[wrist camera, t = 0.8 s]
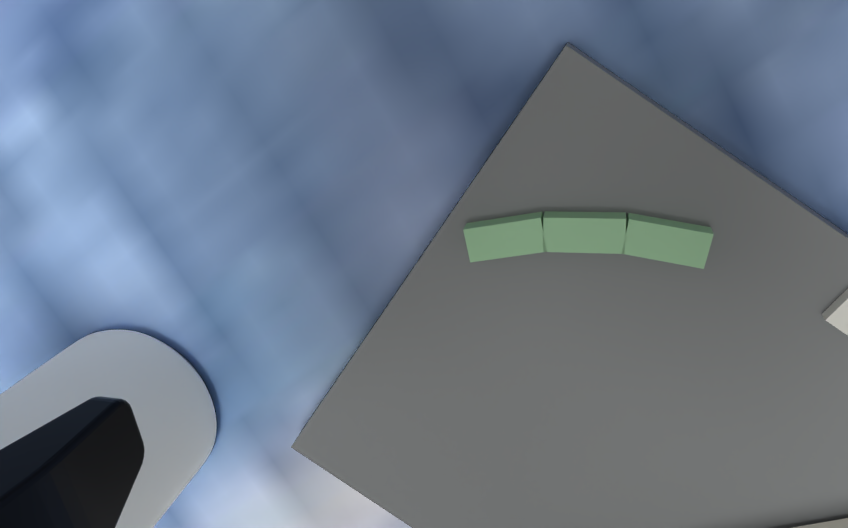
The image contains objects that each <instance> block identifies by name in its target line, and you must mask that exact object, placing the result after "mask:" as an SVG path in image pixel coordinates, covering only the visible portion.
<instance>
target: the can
mask: <svg viewBox="0 0 848 528" xmlns="http://www.w3.org/2000/svg"><path fill="white" fill-rule="evenodd" d="M98 396H102V397H111V398H119V399H123V400H126V401H127V402H128V403H129V404H130V406H131V408H132V410H133V413H134V416H135V419H136V422H137V425H138V428H139V431H140V434H141V437H142V440H143V443H144V459H143V463H142V466H141V468H140V471H139V473H138V475H137V478H136V480H135V482H134V485H133V487H132V489H131V492H130V494H129V497H128V499H127V501H126V504H125V506H124V508H123V511H122V513H121V515H120V518H119V520H118V522H117V525H116V527H115V528H153V527H154V526H155V525H156V523H157V522H158V521H159V520H160V518H161V517H162V516H163V515H164V513H165V512H166V511H167V510H168V508H169V507H170V506H171V505H172V503H173V502H174V501H175V500H176V498H177V497H178V496H179V495H180V493H181V492H182V491H183V490H184V488H185V487H186V486H187V484H188V483H189V482H190V481H191V479H192V478H193V477H194V475H195V474H196V473H197V472H198V470H199V469H200V468H201V466H202V465H203V464H204V462H205V461H206V459H207V458H208V456H209V455H210V453H211V451H212V448H213V446H214V443H215V438H216V431H217V422H216V414H215V409H214V405H213V402H212V399H211V396H210V394H209V392H208V389H207V387H206V385H205V383H204V381H203V380H202V378H201V377H200V375H199V374H198V372H197V371H196V370H195V368H194V367H193V366H192V365H191V364H190V363H189V362H188V361H187V360H186V359H185V358H184V357H183V356H182V355H181V354H180V353H178V352H177V351H176V350H174V349H173V348H171V347H170V346H168V345H167V344H165V343H163V342H161V341H160V340H158V339H156V338H153V337H151V336H148V335H146V334H143V333H140V332H136V331H130V330H105V331H100V332H95V333H92V334H89V335H87V336H85V337H83V338H81V339H80V340H78V341H76V342H75V343H73V344H72V345H70V346H69V347H67V348H66V349H64V350H63V351H62V352H60V353H59V354H57V355H56V356H54V357H53V358H51V359H50V360H49V361H47V362H46V363H44V364H43V365H41V366H40V367H39V368H37V369H36V370H34V371H33V372H31V373H30V374H29V375H27V376H26V377H24V378H23V379H22V380H20V381H19V382H17V383H16V384H14V385H13V386H12V387H10V388H9V389H7V390H6V391H5V392H3V393H2V394H0V450H1V449H2V448H4V447H6V446H8V445H9V444H11V443H13V442H15V441H16V440H18V439H20V438H22V437H23V436H25V435H27V434H29V433H31V432H32V431H34V430H36V429H38V428H39V427H41V426H43V425H45V424H46V423H48V422H50V421H52V420H53V419H55V418H57V417H59V416H60V415H62V414H64V413H66V412H67V411H69V410H71V409H73V408H75V407H76V406H78V405H80V404H82V403H83V402H85V401H87V400H89V399H91V398H93V397H98Z"/></svg>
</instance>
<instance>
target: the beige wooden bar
mask: <svg viewBox="0 0 848 528" xmlns="http://www.w3.org/2000/svg"><path fill="white" fill-rule="evenodd" d="M793 528H848V518H845V519H839V520H833V521H827V522H822V523H816V524H810V525H804V526H798V527H793Z"/></svg>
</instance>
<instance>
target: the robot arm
mask: <svg viewBox="0 0 848 528" xmlns="http://www.w3.org/2000/svg"><path fill="white" fill-rule="evenodd" d="M143 459H144V443H143V440H142V437H141V434H140V431H139V428H138V425H137V422H136V419H135V416H134V413H133V410H132V408H131V406H130V404H129V403H128V402H127V401H126V400H123V399H119V398H111V397H102V396H98V397H93V398H91V399H89V400H87V401H85V402H83V403H82V404H80V405H78V406H76V407H75V408H73V409H71V410H69V411H67V412H66V413H64V414H62V415H60V416H59V417H57V418H55V419H53V420H52V421H50V422H48V423H46V424H45V425H43V426H41V427H39V428H38V429H36V430H34V431H32V432H31V433H29V434H27V435H25V436H23V437H22V438H20V439H18V440H16V441H15V442H13V443H11V444H9V445H8V446H6V447H4V448H2V449H1V450H0V528H115V527H116V525H117V522H118V520H119V518H120V515H121V513H122V511H123V508H124V506H125V504H126V501H127V499H128V497H129V494H130V492H131V489H132V487H133V485H134V482H135V480H136V478H137V475H138V473H139V471H140V468H141V466H142V463H143Z"/></svg>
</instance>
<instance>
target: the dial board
mask: <svg viewBox="0 0 848 528" xmlns="http://www.w3.org/2000/svg"><path fill="white" fill-rule="evenodd" d="M291 448H293V449H294V450H296V451H297V452H299V453H300V454H302V455H303V456H305V457H306V458H308V459H309V460H311V461H312V462H314V463H316V464H317V465H319V466H320V467H322V468H323V469H325V470H326V471H328V472H329V473H331V474H332V475H334V476H335V477H337V478H338V479H340V480H341V481H343V482H344V483H346V484H347V485H349V486H350V487H352V488H353V489H355V490H356V491H358V492H359V493H361V494H362V495H364V496H365V497H367V498H368V499H370V500H371V501H373V502H374V503H376V504H377V505H379V506H380V507H382V508H383V509H385V510H386V511H388V512H389V513H391V514H392V515H394V516H395V517H397V518H398V519H400V520H401V521H403V522H404V523H406V524H407V525H409V526H410V527H412V528H793V527H798V526H804V525H810V524H816V523H822V522H827V521H833V520H839V519H845V518H848V234H847V233H845V232H844V231H842V230H841V229H839V228H838V227H837V226H835V225H834V224H832V223H831V222H829V221H828V220H826V219H825V218H823V217H822V216H821V215H819V214H818V213H816V212H815V211H813V210H812V209H810V208H809V207H807V206H806V205H804V204H803V203H802V202H800V201H799V200H797V199H796V198H794V197H793V196H791V195H790V194H788V193H787V192H786V191H784V190H783V189H781V188H780V187H778V186H777V185H775V184H774V183H772V182H771V181H770V180H768V179H767V178H765V177H764V176H762V175H761V174H759V173H758V172H756V171H755V170H754V169H752V168H751V167H749V166H748V165H746V164H745V163H743V162H742V161H740V160H739V159H738V158H736V157H735V156H733V155H732V154H730V153H729V152H727V151H726V150H724V149H723V148H721V147H720V146H719V145H717V144H716V143H714V142H713V141H711V140H710V139H708V138H707V137H705V136H704V135H703V134H701V133H700V132H698V131H697V130H695V129H694V128H692V127H691V126H689V125H688V124H687V123H685V122H684V121H682V120H681V119H679V118H678V117H676V116H675V115H673V114H672V113H671V112H669V111H668V110H666V109H665V108H663V107H662V106H660V105H659V104H657V103H656V102H655V101H653V100H652V99H650V98H649V97H647V96H646V95H644V94H643V93H641V92H640V91H638V90H637V89H636V88H634V87H633V86H631V85H630V84H628V83H627V82H625V81H624V80H622V79H621V78H620V77H618V76H617V75H615V74H614V73H612V72H611V71H609V70H608V69H606V68H605V67H604V66H602V65H601V64H599V63H598V62H596V61H595V60H593V59H592V58H590V57H589V56H588V55H586V54H585V53H583V52H582V51H580V50H579V49H577V48H576V47H574V46H573V45H572V44H570V43H569V42H567V44H566V45H565V47H564V48H563V50H562V51H561V53H560V54H559V56H558V57H557V58H556V60H555V61H554V63H553V64H552V66H551V67H550V69H549V70H548V72H547V73H546V75H545V76H544V77H543V79H542V80H541V82H540V83H539V85H538V86H537V88H536V89H535V91H534V92H533V94H532V95H531V96H530V98H529V99H528V101H527V102H526V104H525V105H524V107H523V108H522V110H521V111H520V113H519V114H518V115H517V117H516V118H515V120H514V121H513V123H512V124H511V126H510V127H509V129H508V130H507V132H506V133H505V134H504V136H503V137H502V139H501V140H500V142H499V143H498V145H497V146H496V148H495V149H494V150H493V152H492V153H491V155H490V156H489V158H488V159H487V161H486V162H485V164H484V165H483V167H482V168H481V169H480V171H479V172H478V174H477V175H476V177H475V178H474V180H473V181H472V183H471V184H470V186H469V187H468V188H467V190H466V191H465V193H464V194H463V196H462V197H461V199H460V200H459V202H458V203H457V205H456V206H455V207H454V209H453V210H452V212H451V213H450V215H449V216H448V218H447V219H446V221H445V222H444V224H443V225H442V226H441V228H440V229H439V231H438V232H437V234H436V235H435V237H434V238H433V240H432V241H431V243H430V244H429V245H428V247H427V248H426V250H425V251H424V253H423V254H422V256H421V257H420V259H419V260H418V262H417V263H416V264H415V266H414V267H413V269H412V270H411V272H410V273H409V275H408V276H407V278H406V279H405V281H404V282H403V283H402V285H401V286H400V288H399V289H398V291H397V292H396V294H395V295H394V297H393V298H392V299H391V301H390V302H389V304H388V305H387V307H386V308H385V310H384V311H383V313H382V314H381V316H380V317H379V318H378V320H377V321H376V323H375V324H374V326H373V327H372V329H371V330H370V332H369V333H368V335H367V336H366V337H365V339H364V340H363V342H362V343H361V345H360V346H359V348H358V349H357V351H356V352H355V354H354V355H353V356H352V358H351V359H350V361H349V362H348V364H347V365H346V367H345V368H344V370H343V371H342V373H341V374H340V375H339V377H338V378H337V380H336V381H335V383H334V384H333V386H332V387H331V389H330V390H329V392H328V393H327V394H326V396H325V397H324V399H323V400H322V402H321V403H320V405H319V406H318V408H317V409H316V411H315V412H314V413H313V415H312V416H311V418H310V419H309V421H308V422H307V424H306V425H305V427H304V428H303V430H302V431H301V432H300V434H299V436H298V437H297V439H296V440H295V442H294V443H293V445H292V446H291Z"/></svg>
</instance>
